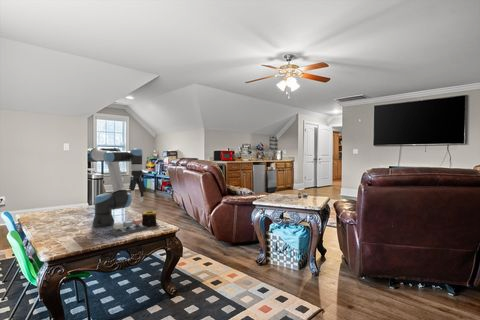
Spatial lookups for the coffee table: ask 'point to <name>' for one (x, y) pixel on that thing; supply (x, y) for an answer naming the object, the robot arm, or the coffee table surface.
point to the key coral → (137, 222)
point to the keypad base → (127, 230)
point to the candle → (149, 218)
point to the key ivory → (118, 226)
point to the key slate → (128, 224)
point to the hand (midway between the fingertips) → (137, 200)
